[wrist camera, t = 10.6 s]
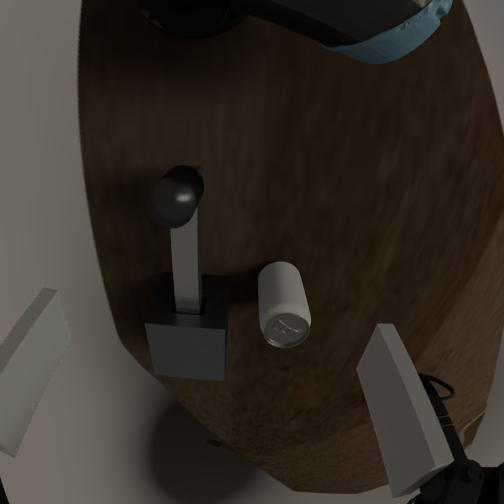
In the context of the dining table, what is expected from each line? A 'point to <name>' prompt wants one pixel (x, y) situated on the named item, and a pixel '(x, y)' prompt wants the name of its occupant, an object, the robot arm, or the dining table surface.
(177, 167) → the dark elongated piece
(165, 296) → the housing
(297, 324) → the can
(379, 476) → the dining table surface
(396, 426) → the robot arm
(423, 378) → the mug
